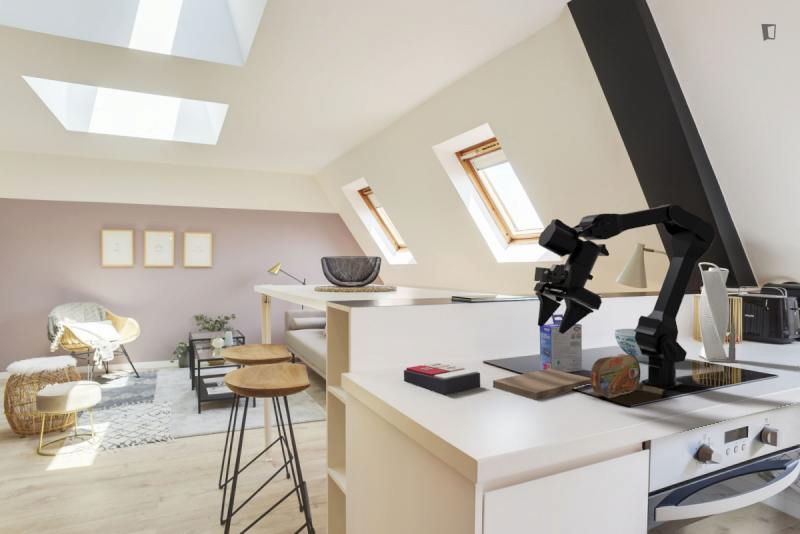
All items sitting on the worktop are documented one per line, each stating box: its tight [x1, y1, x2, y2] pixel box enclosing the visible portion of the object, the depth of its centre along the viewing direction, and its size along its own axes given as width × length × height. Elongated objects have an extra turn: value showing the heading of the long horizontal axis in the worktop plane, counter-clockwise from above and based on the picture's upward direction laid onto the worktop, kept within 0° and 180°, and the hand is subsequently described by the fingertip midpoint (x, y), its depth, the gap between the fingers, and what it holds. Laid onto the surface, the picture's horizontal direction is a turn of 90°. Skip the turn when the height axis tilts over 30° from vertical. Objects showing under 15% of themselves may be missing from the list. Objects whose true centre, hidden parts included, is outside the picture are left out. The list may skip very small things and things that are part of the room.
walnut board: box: [492, 369, 592, 401], centre depth 112 cm, size 20×12×2 cm, turn 125°
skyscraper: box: [698, 261, 738, 364], centre depth 141 cm, size 8×8×28 cm
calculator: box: [403, 362, 481, 396], centre depth 114 cm, size 11×4×15 cm
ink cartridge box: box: [539, 313, 583, 373], centre depth 127 cm, size 10×6×14 cm, turn 111°
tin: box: [590, 353, 641, 398], centre depth 106 cm, size 15×3×8 cm, turn 123°
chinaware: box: [613, 328, 649, 363], centre depth 141 cm, size 15×15×8 cm
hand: (549, 329), depth 108 cm, fingers open, 9 cm apart
